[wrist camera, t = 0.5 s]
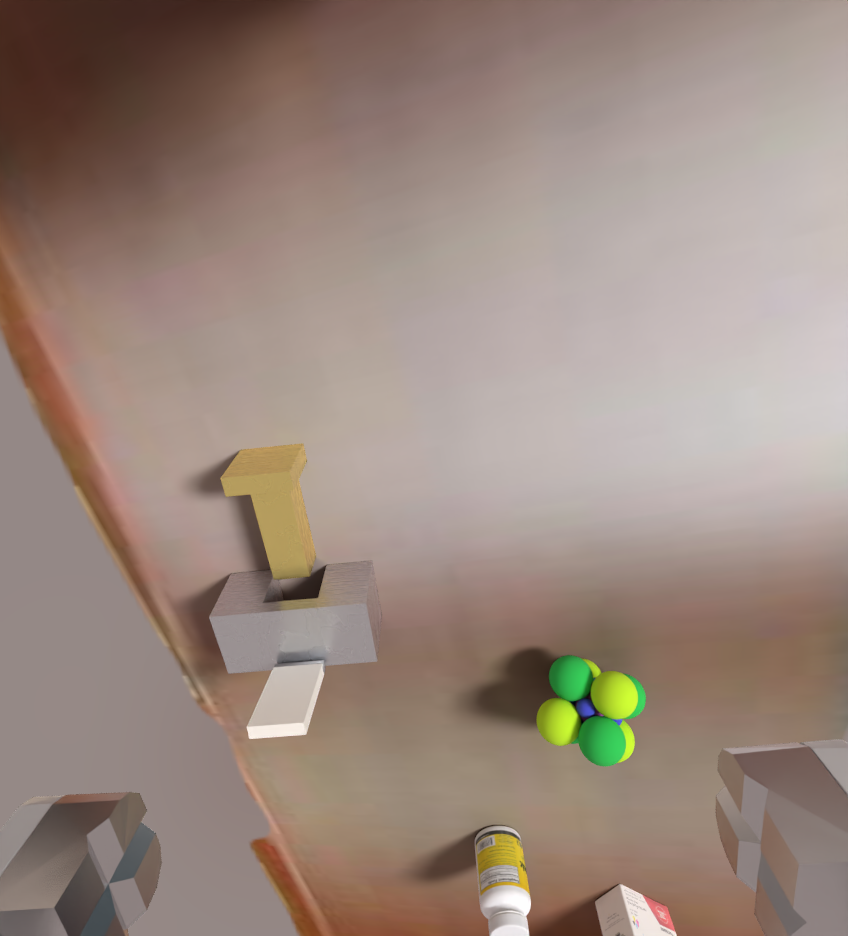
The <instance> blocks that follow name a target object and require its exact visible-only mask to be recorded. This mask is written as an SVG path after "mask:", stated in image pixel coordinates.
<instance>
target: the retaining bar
mask: <svg viewBox="0 0 848 936" xmlns="http://www.w3.org/2000/svg"><path fill="white" fill-rule="evenodd" d="M324 673H325V661H324V660H318V661H306V662H294V663H281V664H275V665H274V668H273V670H272V672H271V674H270V676H269V679H268V681H267V683H266V685H265V688H264V690H263V692H262V694H261V697H260V699H259V701H258V703H257V705H256V708H255V710H254V712H253V714H252V717H251V719H250V721H249V723H248V726H247V730H248V734H249V739H255V738H268V737H282V736H295V735H306V733H307V730H308V726H309V723H310V720H311V716H312V713H313V710H314V706H315V703H316V700H317V696H318V693H319V690H320V687H321V683H322V680H323V677H324Z"/></svg>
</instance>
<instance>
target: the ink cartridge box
mask: <svg viewBox="0 0 848 936" xmlns="http://www.w3.org/2000/svg"><path fill="white" fill-rule="evenodd" d="M595 905H596V909H597V914H598V918H599V922H600V926H601V930H602V934H603V936H677V935H676V932H675V929H674V926H673V923H672V920H671V917H670V914H669V911H668V909H667V907H666V906H664V905H662V904H660V903H658V902H656V901H654V900H652V899H650V898H648V897H646V896H644V895H642V894H640V893H638V892H636V891H634V890H632V889H630V888H628V887H626V886H624V885H622V884H619V885H618V886H616V887H615V888H613V889H612V890H610V891H609V892H608V893H606V894H605V895H603V896H602V897H600V898H599V899H597V900H596V901H595Z"/></svg>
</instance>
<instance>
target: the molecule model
mask: <svg viewBox="0 0 848 936" xmlns="http://www.w3.org/2000/svg"><path fill="white" fill-rule="evenodd" d="M549 681H550V685H551V687H552V689H553V690H554V692H555V693H556V694H557V695H558V696H559V697H561V698H552V699H549V700H547V701H545V702H544V703H543V704H542V705H541V706H540V708H539V710H538V713H537V726H538V729H539V732H540V733H541V735H542V736H543V738H544V739H545V740H547V741H548V742H550V743H551V744H554V745H558V746H564V745H568V744H570V743H571V744H576V743H579V746H580V749H581V751H582V753H583V754H584V756H585V757H586V758H587V759H588V760H589V761H591V762H592V763H594V764H596V765H599V766H611V765H614V764H616V763H619V762H623V761H625V760H626V759H628V758H629V757H630V755H631V754H632V752H633V749H634V745H635V740H634V735H633V732H632V730H631V728H630V727H629V725H628V724H627V723H626V722H625V721H623V720H622V719H630V718H634V717H636V716H637V715H639V714H640V713H641V712H642V710H643V708H644V706H645V702H646V696H645V692H644V689H643V687H642V685H641V684H640V683H639V682H638V681H637V680H636V679H635V678H634V677H632V676H630V675H627V674H622V673H620V672H616V671H607V672H604V673H601V671H600V669H599V668H598V667H597V666H596V665H595V664H594V663H593V662H591V661H589V660H587V659H581V658H579V657H576V656H572V655H567V656H562V657H560V658H558V659H557V660H556V661H555V662H554V663H553V664H552V666H551V668H550V672H549Z"/></svg>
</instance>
